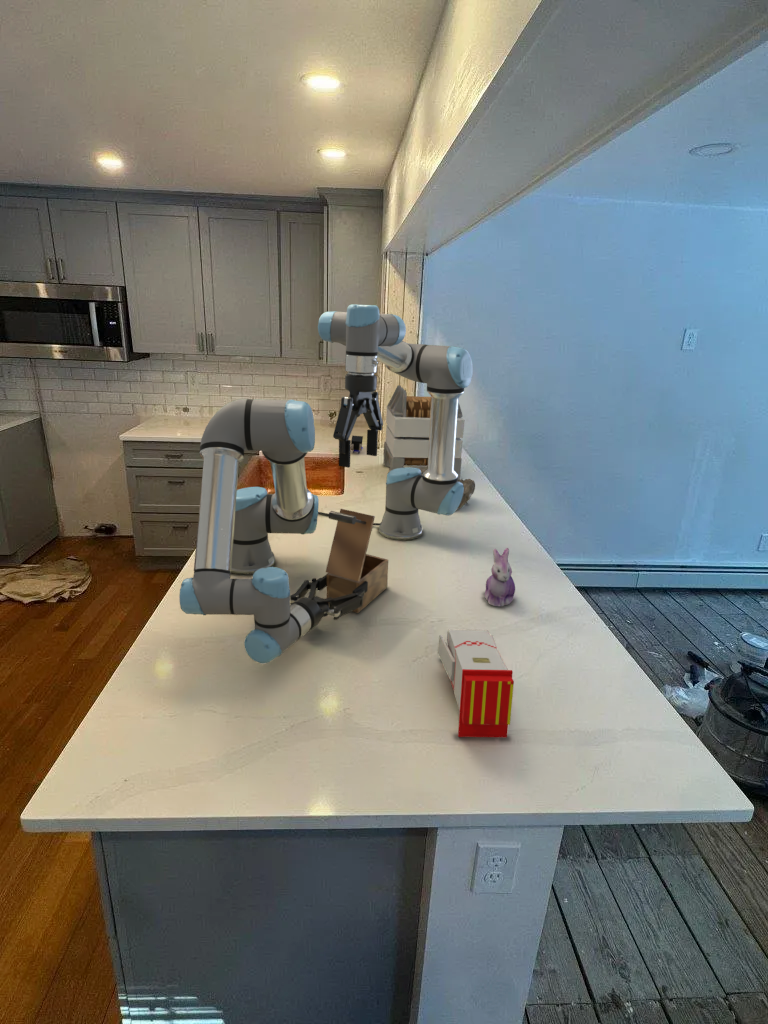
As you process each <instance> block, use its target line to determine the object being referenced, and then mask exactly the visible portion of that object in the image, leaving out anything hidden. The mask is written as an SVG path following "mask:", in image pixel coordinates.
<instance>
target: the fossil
mask: <svg viewBox="0 0 768 1024" xmlns="http://www.w3.org/2000/svg"><path fill="white" fill-rule="evenodd" d="M458 482H461V483H462V484H463V487H464V492H463V496H462V500H461V502H460V505H459V507H458V508H457V510H458V509H462V507H463V506H465V505H468V504H469V503H468V502H469V501H470V500H471V497H472V496H473V495H474V494H475V490H476V483H475V480H473V479H471V478H466V479H463V478H460V480H458Z"/></svg>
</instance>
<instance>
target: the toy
mask: <svg viewBox="0 0 768 1024" xmlns="http://www.w3.org/2000/svg"><path fill="white" fill-rule="evenodd" d="M446 640H447V643H446V641H445V639H444V636H443V635H442V634H439V637H438V646H437V656H438V657H439V659H440V661H441V663H442V666H443V668H444V670H445V672H446V674H447V677H448V679H449V681H450V684H451V687H452V690H453V693H454V697H455V701H456V705H457V708H458V711H459V714H458V715H459V716H458V730H457V731H458V732H457V737H458V738H508V731H509V726H510V725H511V717H512V707H513V697H514V696H513V695H514V684H515V680H514V679H513V673H514V671H513V670H512V669H508V667H507V665H506V662H505V661H504V659H503V658H502V655H501V653H500V651H499V649H498V647H497V643H496V639H495V637H494V635H493V634H491V632H490V631H489V629H467V628H466V629H465V628H463V629H461V628H460V629H459V628H448V630H447V639H446Z"/></svg>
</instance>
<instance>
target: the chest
mask: <svg viewBox="0 0 768 1024" xmlns="http://www.w3.org/2000/svg"><path fill="white" fill-rule="evenodd" d="M326 574H327V586H326V598H330V597H332V598H337V597H341V596H344V595H348V594H352V591H353V590H354V589H356V588H357V587H358V586H360V585H361V584H362V583H363V582H365V581H367V582H368V590H367V592H366V593H364V596H363V606H362V607H359V608H357V609H355V610H353V611H352V612H353V613H357V614H359V613H360V612H361V611H362V610H364V608H366V607H367V606H368V605H369V604H371V602H373V601H374V600H375V599H376V598H377V597H378V596H379V595H380V594H382V593H383V592H384V591H385V590H386V589H387V588H388V577H389V559H388V558H383V557H379V556H375V555H372V554H368V553H366V557H365V561H364V565H363V569H362V574H361V578H360V581H355V580H352V579H348V578H345V577H341V576H338V575H334V574H331V573H327V572H326ZM328 603H329V602H328Z"/></svg>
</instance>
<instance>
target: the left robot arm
mask: <svg viewBox="0 0 768 1024" xmlns="http://www.w3.org/2000/svg"><path fill="white" fill-rule="evenodd" d="M315 443H316V427H315V418H314V413H313V410H312V407H311V405H310V404H309V403H308V402H306V401H303V400H295V399H253V398H252V399H251V398H238V399H234V400H232V401H230V402H227V403H226V404H224V405H223V406H221V408H220V409H218V410H217V411H216V412H215V413H214V414H213V416H211V418H210V419H209V421H208V423H207V425H206V426H205V428H204V431H203V433H202V436H201V439H200V445H199V457H200V458H201V460H203V466H202V474H201V475H202V476H201V488H200V498H199V508H198V509H199V510H198V519H197V520H198V521H197V531H196V542H195V553H194V564H193V576H192V577H187V578H184V579H183V580H182V582H181V585H180V589H179V596H178V597H179V606H180V609H181V611H182V612H183V613H185V614H187V615H203V616H208V615H209V616H210V615H212V616H213V615H221V616H223V615H227V616H228V615H230V616H231V615H234V616H253V623H254V624H253V626H254V629H252V630H250V632H249V633H247V635H246V636H245V639H244V641H243V645H244V650H245V652H246V654H247V656H248V657H249V658H250V659H251V660H252V661H254V662H255V663H258V664H263V665H265V664H268V663H270V662H271V661H273V660H275V659H276V658H278V657H280V656H281V655H282V654H283V653H284V652H285V651H287V650H288V649H289V648H290V647H292V646H293V645H294V644H295V643H296V642H298V640H300V639H302V637H303V636H305V635H306V634H308V633H309V632H310V631H312V630H313V629H314V628H315V627H317V626H318V625H319V624H320V622H321V621H322V619H323V618H325V617H328V616H331V617H333V618H332V619H333V620H334V621H338V620H339V619H340V618H342V616H344V615H346V614H349V613H351V612H353V610H355V609H357V608H359V607H362V606H363V596H364V593H366V592H367V590H368V582H367V581H365V582H363V583H362V584H361V585H360V586H358V587H357V588H356V589H354V590H353V591H352V594H348V595H344V596H341V597H337V598H332V597H330V598H327V597H326V598H323V597H319V596H316V595H317V591H319V592H320V591H321V590H324V588H327V573H326V574H325V575H323V576H322V577H319V578H316V577H313V578H311V581H310V580H309V579H305V580H304V581H303V582H302V583H301V585H300V586H299V587H298V589H297V590H296V591H295V592H294V593H292V594H291V589H290V579H289V574H288V572H287V571H286V570H285V569H283V568H280V567H277V566H275V563H276V562H275V561H276V557H275V554H274V552H273V550H272V547H271V543H270V541H269V534H287V535H288V534H290V535H291V534H292V535H294V534H295V535H296V534H297V535H308V534H314V533H315V532H316V530H317V525H318V516H319V514H318V512H319V506H320V505H319V503H320V502H319V501H320V500H319V496H318V495H316V494H313V493H312V492H311V491H310V490H309V489H308V487H307V486H308V485H307V476H306V475H307V474H306V463H305V457H306V456H307V455H308V453H310V452H312V451H313V450H314V449H315ZM246 451H252V452H253V451H256V452H257V451H258V452H259V451H261V453H262V455H263V457H264V458H265V459H266V460H267V461H269V465H270V469H271V475H272V480H273V486H274V493H268V491H267V489H266V488H265V487H260V486H248V487H242V488H238V481H239V480H238V479H239V466H240V463H242V462H243V461H244V459H245V452H246ZM231 573H232V574H235V575H252V577H251V578H233V577H232V578H231ZM307 594H308V597H306V595H307ZM328 602H329V603H328Z"/></svg>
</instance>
